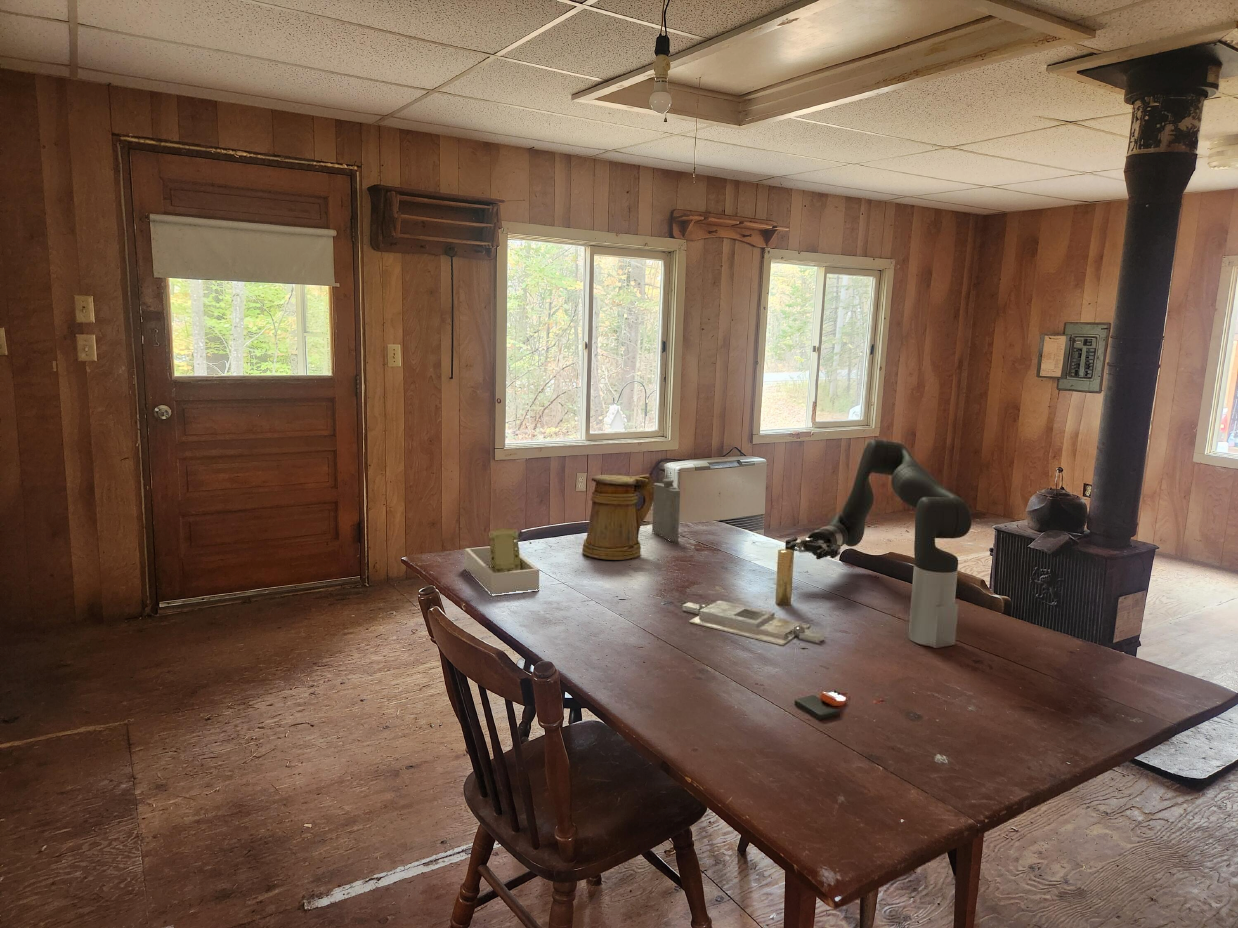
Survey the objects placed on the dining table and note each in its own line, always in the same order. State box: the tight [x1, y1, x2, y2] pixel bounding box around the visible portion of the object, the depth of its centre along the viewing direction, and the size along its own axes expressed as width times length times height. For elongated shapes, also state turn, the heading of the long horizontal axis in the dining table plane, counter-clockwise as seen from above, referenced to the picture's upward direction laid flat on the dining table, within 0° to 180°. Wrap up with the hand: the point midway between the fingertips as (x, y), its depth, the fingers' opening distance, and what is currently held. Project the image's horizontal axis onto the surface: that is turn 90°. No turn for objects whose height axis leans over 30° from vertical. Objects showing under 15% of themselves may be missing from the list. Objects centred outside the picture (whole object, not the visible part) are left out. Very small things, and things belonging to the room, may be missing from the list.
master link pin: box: [774, 548, 795, 607], centre depth 208 cm, size 4×4×14 cm
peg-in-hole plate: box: [682, 600, 825, 647], centre depth 192 cm, size 36×16×2 cm, turn 55°
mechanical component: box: [488, 528, 521, 573], centre depth 222 cm, size 8×17×20 cm, turn 7°
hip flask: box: [651, 478, 681, 542], centre depth 278 cm, size 16×4×20 cm, turn 24°
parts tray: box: [464, 546, 540, 595], centre depth 224 cm, size 28×13×6 cm, turn 25°
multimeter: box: [794, 689, 887, 722], centre depth 152 cm, size 18×12×3 cm, turn 113°
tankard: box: [581, 473, 654, 561], centre depth 254 cm, size 18×24×25 cm
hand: (802, 552), depth 216 cm, fingers open, 8 cm apart
